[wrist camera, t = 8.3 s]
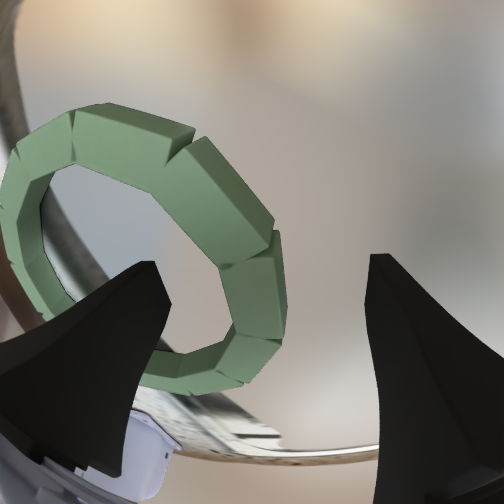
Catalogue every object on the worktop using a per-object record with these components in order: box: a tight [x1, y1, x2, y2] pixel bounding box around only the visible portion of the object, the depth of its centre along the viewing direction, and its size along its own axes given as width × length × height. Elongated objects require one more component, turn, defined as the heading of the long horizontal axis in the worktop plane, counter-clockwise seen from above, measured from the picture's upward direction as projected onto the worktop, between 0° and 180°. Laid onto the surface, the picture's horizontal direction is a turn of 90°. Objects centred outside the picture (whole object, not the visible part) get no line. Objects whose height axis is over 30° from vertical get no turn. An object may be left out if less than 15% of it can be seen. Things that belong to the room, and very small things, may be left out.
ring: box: [0, 103, 288, 396], centre depth 10 cm, size 13×13×2 cm
